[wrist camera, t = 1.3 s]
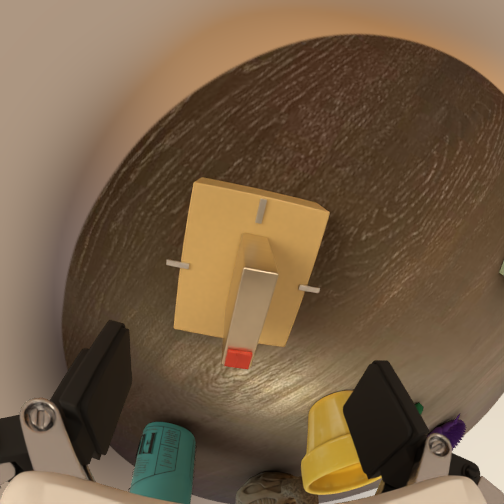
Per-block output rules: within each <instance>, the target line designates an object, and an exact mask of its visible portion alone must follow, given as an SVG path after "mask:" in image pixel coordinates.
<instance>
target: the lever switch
mask: <svg viewBox="0 0 504 504" xmlns="http://www.w3.org/2000/svg"><path fill="white" fill-rule="evenodd" d="M329 214H330V212H328V211H327V210H326V209H324V208H323V207H322V206H320V205H319V204H317V203H315V202H311V201H307V200H303V199H299V198H295V197H291V196H287V195H283V194H279V193H274V192H270V191H266V190H261V189H257V188H252V187H248V186H243V185H238V184H233V183H228V182H223V181H218V180H213V179H208V178H203V177H202V178H200V179H198V180H197V181H195V182H194V184H193V189H192V195H191V201H190V206H189V212H188V218H187V224H186V231H185V237H184V244H183V251H182V258H181V261H176V260H172V259H167V263H166V265H170V266H175V267H179V268H180V273H179V281H178V290H177V299H176V308H175V319H174V329H179V330H184V331H188V332H193V333H199V334H204V335H209V336H215V337H220V338H223V331H224V318H225V309H226V305H227V300H228V295H229V291H230V286H231V282H232V277H233V273H234V268H235V264H236V259H237V254H238V250H239V246H240V241H241V237H242V233H249V234H254V235H259V236H263V237H267V238H268V241H269V244H270V247H271V250H272V254H273V257H274V260H275V264H276V267H277V270H278V273H279V276H278V279H277V283H276V286H275V289H274V293H273V296H272V300H271V303H270V306H269V310H268V313H267V316H266V319H265V323H264V326H263V329H262V332H261V336H260V339H259V342H258V344H266V345H273V346H282V347H285V345H286V342H287V340H288V337H289V334H290V332H291V329H292V326H293V324H294V321H295V318H296V315H297V313H298V310H299V307H300V304H301V301H302V299H303V296H304V293H305V291H308V292H314V293H319V291H320V287H314V286H308V285H307V284H308V281H309V278H310V275H311V272H312V269H313V266H314V263H315V260H316V257H317V254H318V250H319V247H320V244H321V241H322V238H323V234H324V231H325V228H326V224H327V221H328V218H329Z"/></svg>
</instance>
